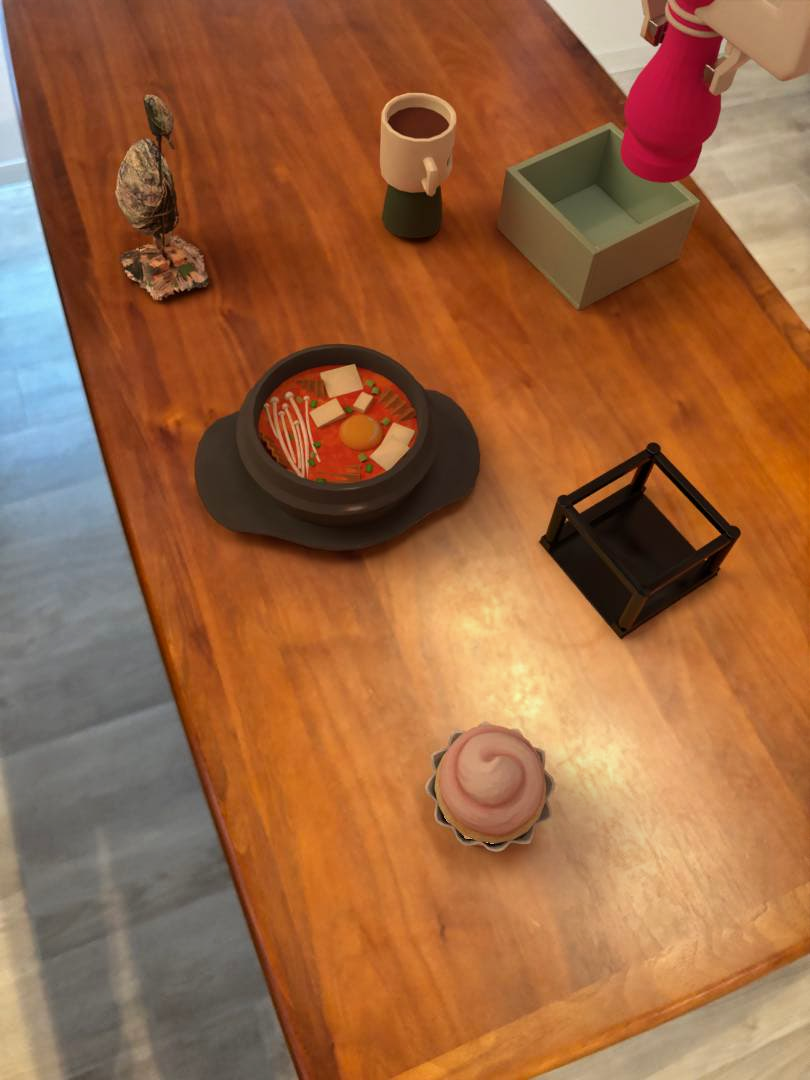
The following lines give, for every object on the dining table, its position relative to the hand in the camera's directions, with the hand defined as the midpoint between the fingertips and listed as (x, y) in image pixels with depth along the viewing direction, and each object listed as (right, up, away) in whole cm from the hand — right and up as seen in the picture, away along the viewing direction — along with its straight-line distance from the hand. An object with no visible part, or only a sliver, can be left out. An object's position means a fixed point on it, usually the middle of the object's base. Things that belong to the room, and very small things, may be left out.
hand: (683, 63), depth 74 cm
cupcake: (-15, -55, +2) cm, 57 cm away
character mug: (-20, -2, +31) cm, 37 cm away
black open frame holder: (-1, -37, +12) cm, 39 cm away
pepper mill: (0, -4, +8) cm, 9 cm away
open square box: (-1, -4, +31) cm, 31 cm away
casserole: (-26, -29, +16) cm, 42 cm away
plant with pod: (-45, -7, +27) cm, 53 cm away
